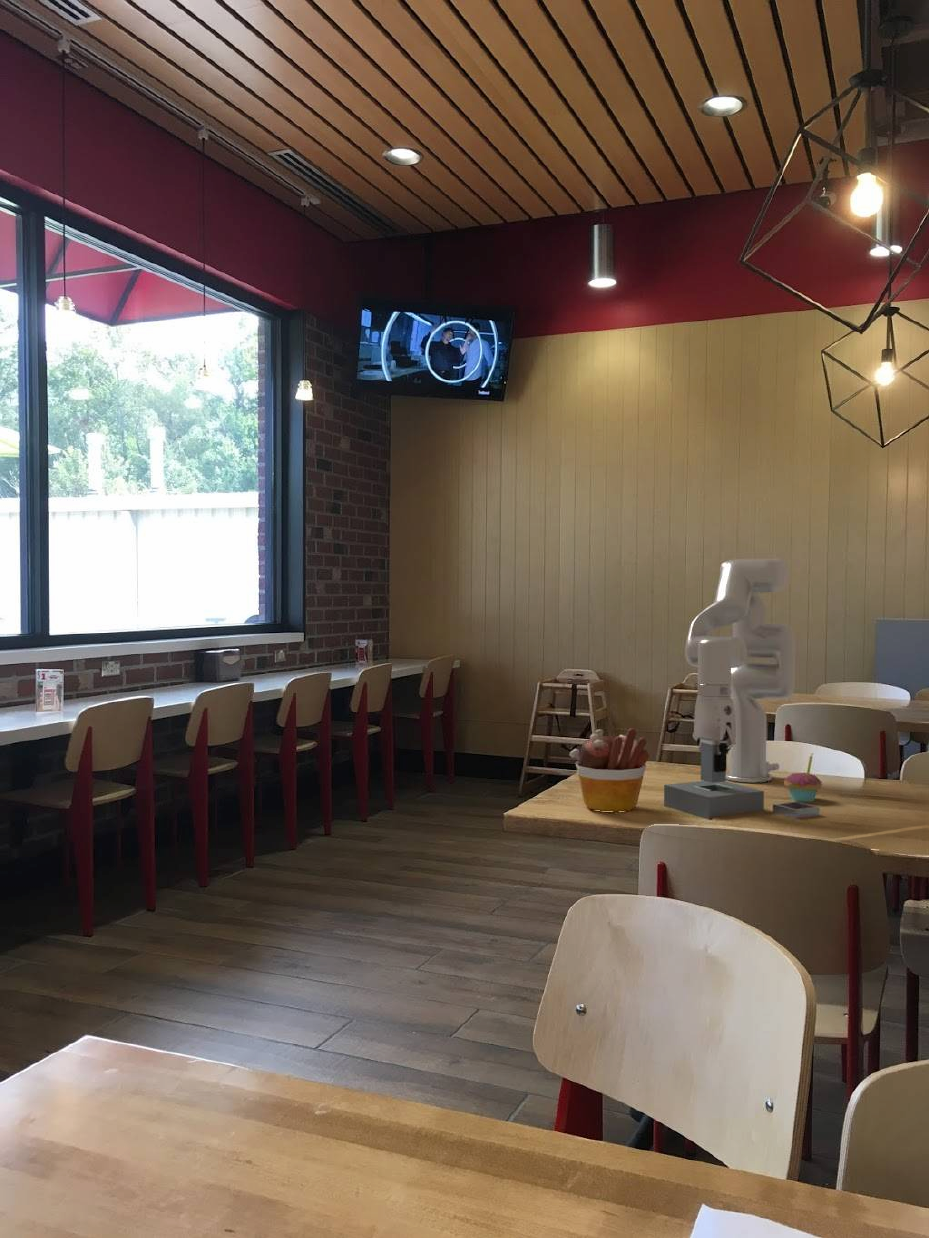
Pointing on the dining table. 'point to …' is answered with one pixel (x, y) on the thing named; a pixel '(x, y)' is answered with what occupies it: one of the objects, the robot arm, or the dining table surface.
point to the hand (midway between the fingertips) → (713, 769)
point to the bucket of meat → (611, 770)
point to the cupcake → (803, 785)
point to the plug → (710, 762)
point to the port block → (712, 798)
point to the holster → (796, 809)
